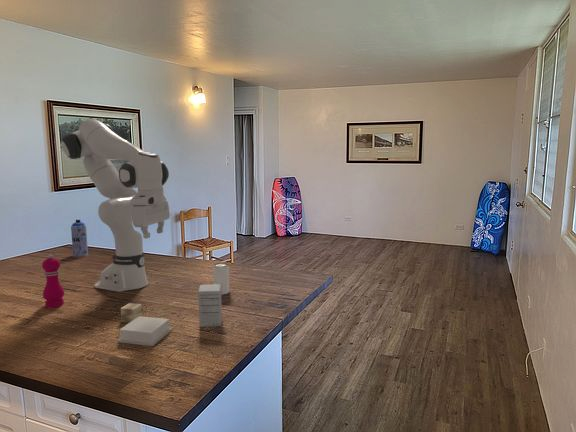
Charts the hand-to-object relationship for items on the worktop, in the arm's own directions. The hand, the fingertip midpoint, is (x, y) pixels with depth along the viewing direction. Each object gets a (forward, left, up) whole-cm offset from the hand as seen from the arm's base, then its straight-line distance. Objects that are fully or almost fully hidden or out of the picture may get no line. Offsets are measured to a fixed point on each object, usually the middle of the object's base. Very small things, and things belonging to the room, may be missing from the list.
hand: (153, 235), depth 159 cm
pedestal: (+9, -22, -28) cm, 37 cm away
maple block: (-3, -11, -28) cm, 31 cm away
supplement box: (+25, -7, -28) cm, 38 cm away
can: (+17, +23, -28) cm, 40 cm away
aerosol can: (-83, +64, -28) cm, 109 cm away
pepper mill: (-40, -5, -28) cm, 49 cm away
